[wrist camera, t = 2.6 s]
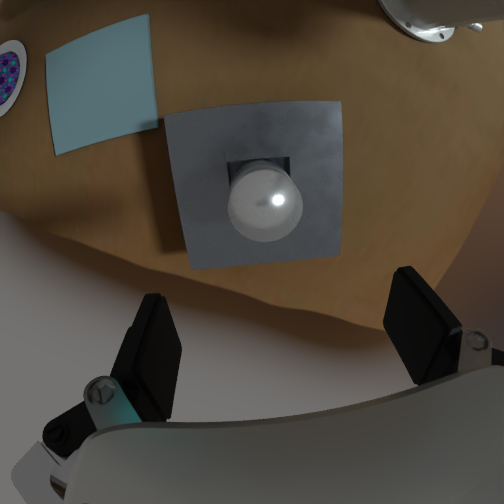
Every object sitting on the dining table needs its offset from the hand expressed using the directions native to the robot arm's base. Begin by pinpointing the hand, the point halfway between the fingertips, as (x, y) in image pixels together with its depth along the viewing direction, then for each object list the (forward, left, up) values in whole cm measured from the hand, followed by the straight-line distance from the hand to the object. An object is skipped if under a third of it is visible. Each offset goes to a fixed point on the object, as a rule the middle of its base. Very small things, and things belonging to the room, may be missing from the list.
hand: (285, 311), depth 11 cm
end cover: (0, 0, -21) cm, 21 cm away
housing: (0, 0, -22) cm, 22 cm away
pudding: (+34, -22, -23) cm, 46 cm away
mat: (+17, -14, -22) cm, 31 cm away
